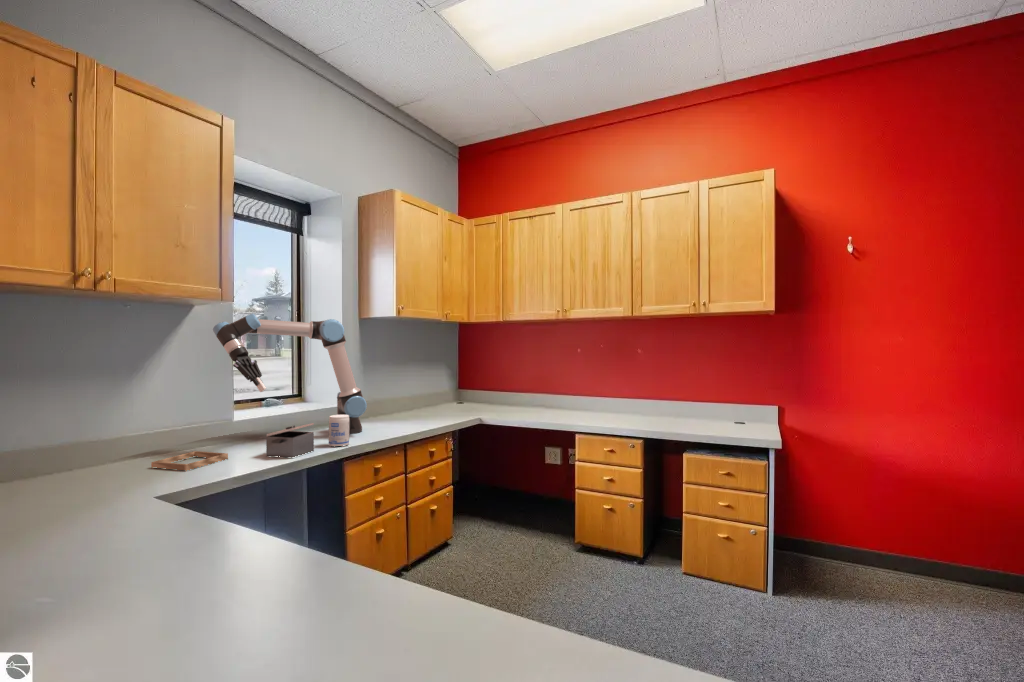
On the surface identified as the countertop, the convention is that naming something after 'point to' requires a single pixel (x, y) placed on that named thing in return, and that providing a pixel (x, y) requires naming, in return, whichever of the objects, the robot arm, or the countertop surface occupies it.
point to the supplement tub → (338, 430)
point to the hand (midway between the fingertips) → (263, 390)
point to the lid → (290, 429)
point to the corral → (210, 459)
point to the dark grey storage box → (289, 443)
